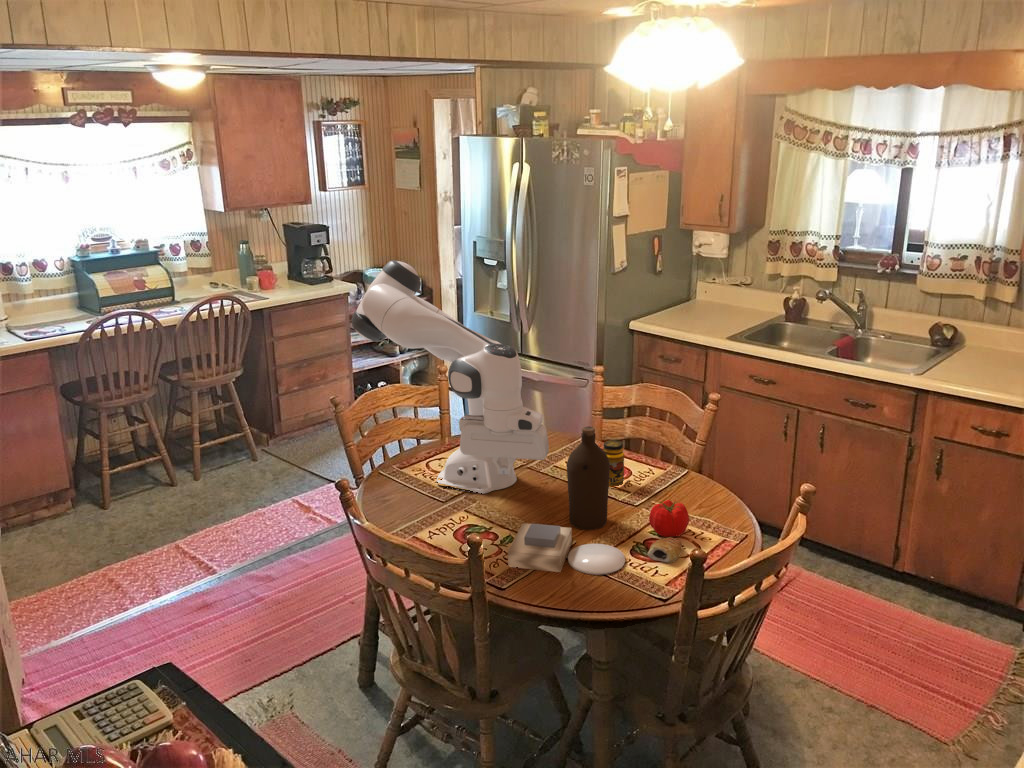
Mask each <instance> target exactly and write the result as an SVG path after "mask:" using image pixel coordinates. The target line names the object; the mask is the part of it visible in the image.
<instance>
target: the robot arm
mask: <svg viewBox="0 0 1024 768" xmlns="http://www.w3.org/2000/svg"><path fill="white" fill-rule="evenodd" d="M421 285H422V281H421V277H420V275H419V274H418V272H417V271H416V270H415V268H414V267H412V266H411V264H409V263H406V262H404V261H401V260H400V261H399V260H396V259H394V260H389V261H388V262H387V263H386V264H385V265H383V267H382V270H381V271H380V272H379V273H378V275H376V277H375V278H374V280H373V281H372V282H371V283H370V285H369V286H368V288H367V291H365V293H364V295H363V297H362V299H361V300H360V303H359V305H358V306H357V309H356V310H354V312H353V314H352V316H351V326H352V328H353V329H354V330H355V332H356V333H357V334H358V335H359V336H360V337H361V338H363V339H364V340H367V341H372V342H375V343H378V342H382V341H384V340H386V338H388V339H389V340H390V341H392V342H393V343H395V344H397V345H398V346H401V347H404V348H405V349H424V350H426V352H429V353H430V354H431V355H433V356H435V357H436V358H438V359H439V360H442V361H446V362H449V363H450V365H449V367H448V373H447V379H448V384H449V387H450V388H451V390H452V392H453V393H454V394H455V395H456V396H458V397H460V398H462V399H467V404H468V414H465V415H464V416H462V417H461V418H460V419H459V421H458V422H459V423H458V425H459V426H458V427H459V431H460V441H459V448H458V449H456V450H455V451H453V453H451V454H450V455H449V456H448V458H447V459H446V461H445V464H444V469H442V470H441V471H440V472H439V474H438V475H437V478H436V483H437V482H438V483H440V484H445V485H449V486H454V487H458V488H462V489H467V490H470V491H473V492H472V493H476V492H478V493H477V494H481V493H482V494H488V493H490V492H492V491H497V490H502V489H507V488H509V487H511V486H512V485H514V484H515V483H517V480H518V479H517V475H516V472H515V469H514V466H513V465H514V464H515V462H516V461H517V459H518V460H519V459H522V460H534V461H536V460H537V461H544V460H545V459H546V458H547V457H548V454H549V452H550V446H549V437H548V436H549V435H548V431H547V429H546V427H545V426H544V425H543V422H544V414H543V413H542V412H539V411H536V410H533V409H532V408H528V407H526V406H523V400H522V396H521V391H522V385H523V383H522V382H523V381H522V378H523V376H522V366H521V359H520V357H519V354H518V351H517V350H516V349H515V348H514V347H512V346H510V345H507V344H504V343H501V342H499V341H497V340H494V339H491V338H489V337H487V336H485V335H484V334H482V333H480V332H477V331H475V330H473V329H471V328H470V327H467V326H465V325H464V324H462V323H461V322H459V321H457V320H456V319H455V318H453V317H451V316H450V315H449V314H447V313H446V312H444V311H443V310H441V309H440V308H438V306H435V305H434V304H433V303H430V302H429V301H427V300H425V299H422V298H421V297H419V296H417V295H416V294H417V293H418V294H420V295H422V293H423V291H422V290H421ZM438 478H441V479H442V478H443V479H442V480H438ZM470 491H469V492H470Z"/></svg>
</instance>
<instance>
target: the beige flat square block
mask: <svg viewBox="0 0 1024 768" xmlns="http://www.w3.org/2000/svg"><path fill="white" fill-rule="evenodd" d="M530 525H531V523H522V524H521V526H520V527H519V529H518V531H517V533H516V535H515V537H514V539H513V541H512V543H511V545H510V547H509V548H508V549H507V560H508V561H507V562H508V563H507V564H508V565H507V566H511V567H510V568H516V567H518V568H517V569H527V570H535V571H537V570H538V571H544V572H553V573H554V572H555V573H561V571H562V569H563V566H564V565H565V561H566V559H567V558H568V554H569V552H570V551H569V550H570V549H571V546H572V543H573V538H572V537H573V533H572V532H573V529H572V527H566V526H565V527H564V526H561V534H560V536H559V539H558V541H557V543H556V546H555V548H550V547H540V546H530V545H525V542H524V537H525V535H526V533H527V531H528V529H529V527H530Z"/></svg>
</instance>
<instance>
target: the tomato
mask: <svg viewBox="0 0 1024 768" xmlns="http://www.w3.org/2000/svg"><path fill="white" fill-rule="evenodd" d="M677 502H678V501H675V502H673V501H671V500H670V499H666V500H664V501H663V502H660V503H657V504H654V505H653V506H652V508H651V510H650V513H649V517H648V522H649V525H650V527H651V528H652V529H653V531H654V532H655V533H656V534H657V535H659V536H660V537H664V538H669V537H672V538H676V537H680V536H681V535H683V534H684V533H685V532H686V530H687V528H688V526H689V522H690V514H689V513H688V512H689V511H688V509H687V507H686V506H685V505H684V504H683V503H682V502H678V503H677Z"/></svg>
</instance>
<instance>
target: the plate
mask: <svg viewBox="0 0 1024 768" xmlns="http://www.w3.org/2000/svg"><path fill="white" fill-rule="evenodd" d="M567 561H568V564H569V566H570V567H571V568H572V569H573V570H576V571H577V572H580V573H583V574H587V575H595V576H596V575H597V576H599V575H601V576H602V575H608V574H613V573H615V572H618V571H619V570H620V569H622V568H623V567H624V566H625V563H626V557H625V554H624V552H622V551H621V550H620V549H619V548H617V547H615V546H612V545H610V544H604V543H587V544H581V545H579V546H576V547H574V548H572V549H571V550H570V551H568V554H567Z"/></svg>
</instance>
